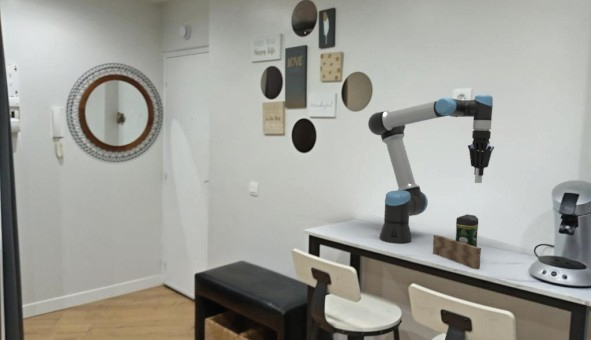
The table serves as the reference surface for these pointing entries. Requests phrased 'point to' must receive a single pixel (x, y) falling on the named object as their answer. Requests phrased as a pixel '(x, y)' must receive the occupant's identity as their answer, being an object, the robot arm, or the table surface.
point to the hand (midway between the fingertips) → (478, 182)
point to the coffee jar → (467, 229)
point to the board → (457, 251)
